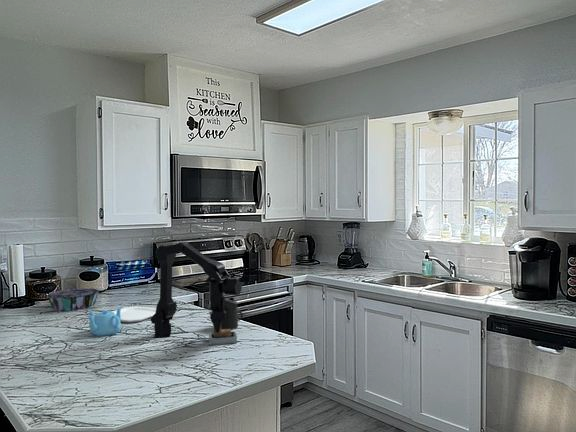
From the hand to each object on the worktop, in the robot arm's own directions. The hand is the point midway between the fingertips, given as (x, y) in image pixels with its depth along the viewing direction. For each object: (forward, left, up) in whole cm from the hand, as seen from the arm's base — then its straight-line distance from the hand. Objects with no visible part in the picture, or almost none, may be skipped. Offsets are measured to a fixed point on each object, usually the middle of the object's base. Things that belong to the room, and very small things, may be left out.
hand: (217, 331), depth 192 cm
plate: (-40, +54, -5) cm, 67 cm away
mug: (+7, +21, -5) cm, 23 cm away
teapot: (-49, +27, -5) cm, 56 cm away
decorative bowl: (-75, +85, -5) cm, 114 cm away
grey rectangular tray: (+2, 0, -4) cm, 5 cm away
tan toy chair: (+2, 0, -2) cm, 2 cm away
